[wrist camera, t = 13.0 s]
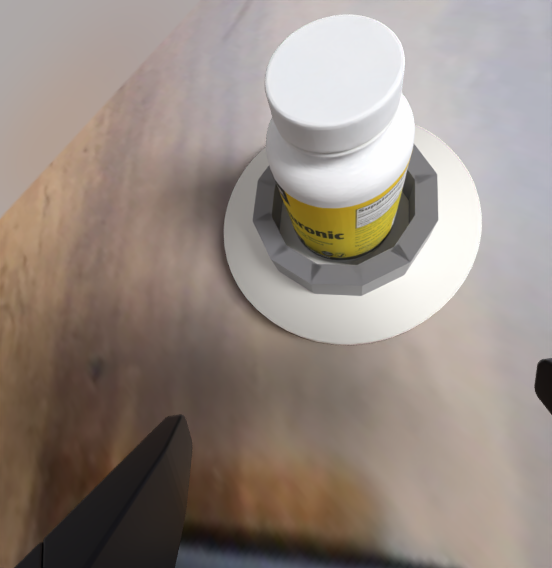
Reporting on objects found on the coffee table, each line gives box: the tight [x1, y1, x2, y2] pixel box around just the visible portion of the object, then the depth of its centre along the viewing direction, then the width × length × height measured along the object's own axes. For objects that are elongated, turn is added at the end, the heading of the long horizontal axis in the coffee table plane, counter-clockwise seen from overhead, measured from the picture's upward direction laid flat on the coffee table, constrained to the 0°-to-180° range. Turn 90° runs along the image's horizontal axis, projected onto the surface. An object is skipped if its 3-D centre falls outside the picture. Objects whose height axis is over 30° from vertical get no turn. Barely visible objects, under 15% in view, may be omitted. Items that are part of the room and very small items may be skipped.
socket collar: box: [224, 124, 482, 345], centre depth 18 cm, size 14×14×3 cm
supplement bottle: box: [265, 14, 415, 262], centre depth 14 cm, size 5×5×10 cm
